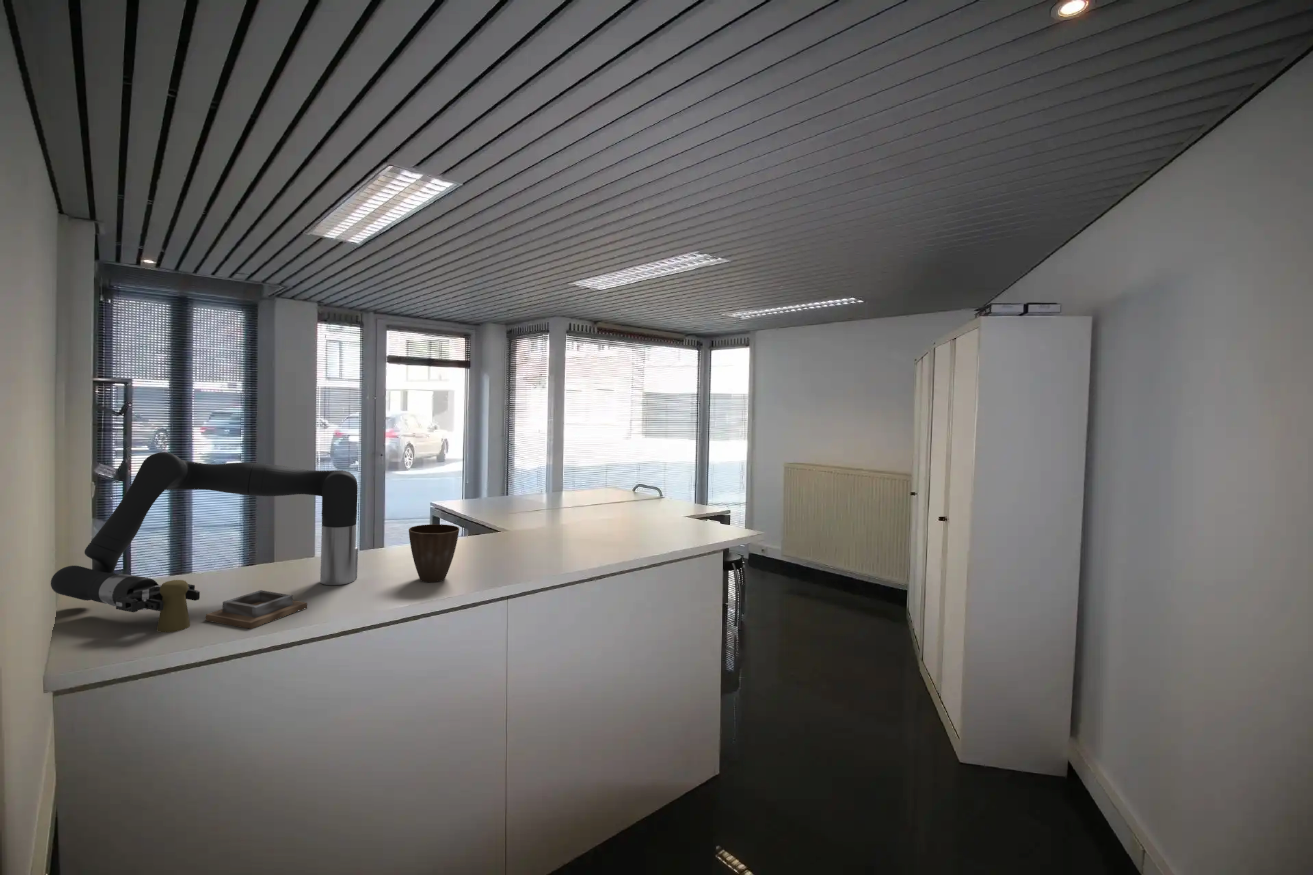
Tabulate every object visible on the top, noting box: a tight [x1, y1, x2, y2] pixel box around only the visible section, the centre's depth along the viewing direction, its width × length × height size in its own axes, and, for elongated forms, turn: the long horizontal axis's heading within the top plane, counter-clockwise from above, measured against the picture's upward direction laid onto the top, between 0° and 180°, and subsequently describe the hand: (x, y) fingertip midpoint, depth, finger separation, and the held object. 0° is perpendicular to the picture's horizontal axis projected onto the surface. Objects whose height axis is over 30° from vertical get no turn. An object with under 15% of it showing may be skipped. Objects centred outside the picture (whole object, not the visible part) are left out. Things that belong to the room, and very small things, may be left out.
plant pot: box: [408, 523, 460, 583], centre depth 189 cm, size 15×15×16 cm
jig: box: [205, 589, 308, 630], centre depth 151 cm, size 16×14×4 cm
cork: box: [156, 579, 191, 633], centre depth 140 cm, size 6×6×11 cm
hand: (180, 600), depth 140 cm, fingers open, 7 cm apart
